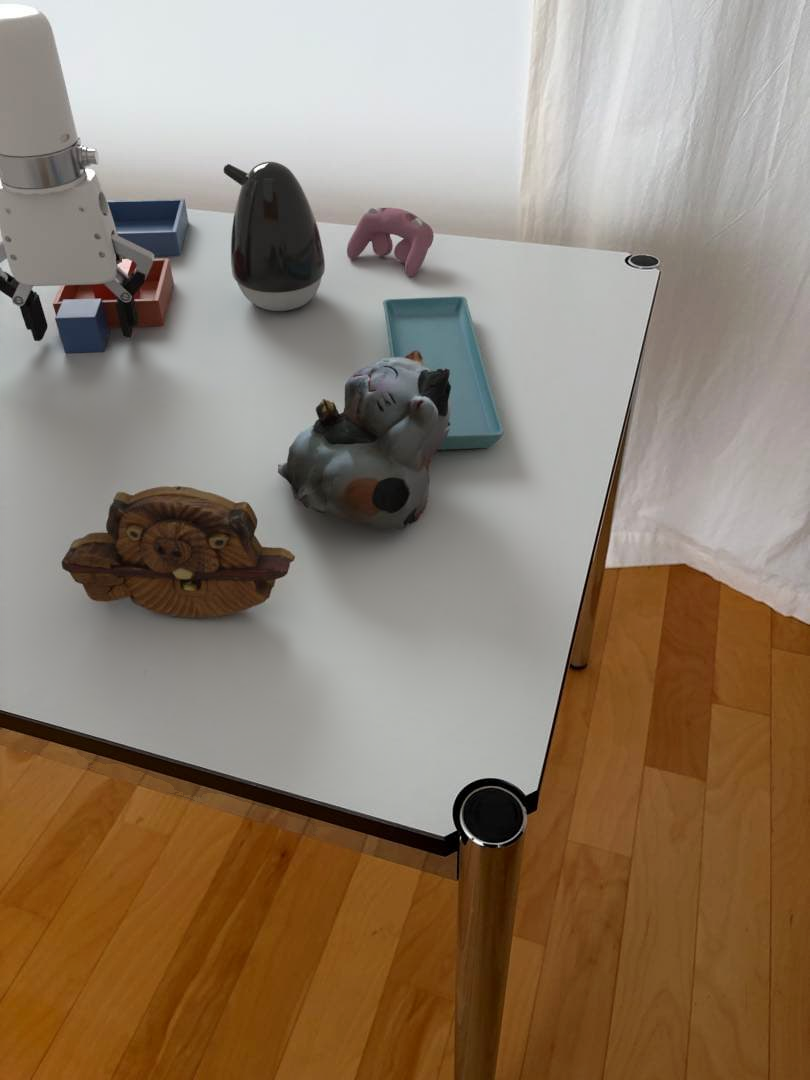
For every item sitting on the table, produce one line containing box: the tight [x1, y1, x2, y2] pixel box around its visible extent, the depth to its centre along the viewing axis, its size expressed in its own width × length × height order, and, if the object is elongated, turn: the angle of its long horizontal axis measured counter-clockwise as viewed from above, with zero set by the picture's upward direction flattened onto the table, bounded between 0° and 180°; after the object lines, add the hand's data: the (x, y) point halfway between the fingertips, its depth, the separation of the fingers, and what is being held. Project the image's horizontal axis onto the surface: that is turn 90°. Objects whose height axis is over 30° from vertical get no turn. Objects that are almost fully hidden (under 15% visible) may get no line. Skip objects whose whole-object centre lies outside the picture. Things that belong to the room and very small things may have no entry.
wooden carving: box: [61, 485, 296, 619], centre depth 64 cm, size 16×5×10 cm, turn 90°
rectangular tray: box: [382, 295, 505, 451], centre depth 89 cm, size 26×9×2 cm, turn 5°
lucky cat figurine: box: [277, 350, 451, 530], centre depth 73 cm, size 15×12×14 cm
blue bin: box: [107, 198, 189, 258], centre depth 112 cm, size 11×10×3 cm
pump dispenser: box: [223, 161, 326, 312], centre depth 96 cm, size 10×10×15 cm
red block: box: [92, 258, 140, 300], centre depth 99 cm, size 4×4×4 cm
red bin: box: [52, 258, 174, 328], centre depth 99 cm, size 11×10×3 cm
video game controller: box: [346, 207, 435, 277], centre depth 107 cm, size 10×5×7 cm, turn 58°
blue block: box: [54, 299, 111, 354], centre depth 93 cm, size 4×4×4 cm
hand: (85, 332), depth 94 cm, fingers open, 8 cm apart
